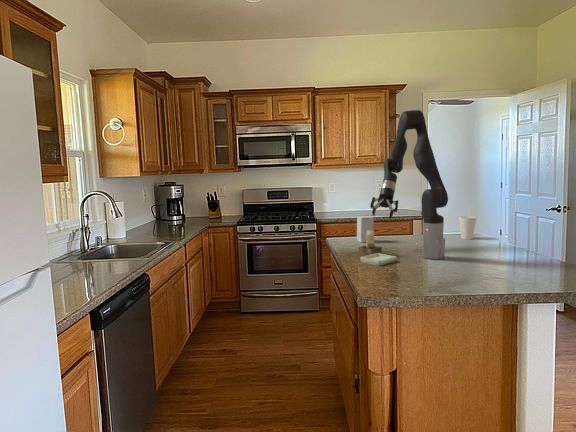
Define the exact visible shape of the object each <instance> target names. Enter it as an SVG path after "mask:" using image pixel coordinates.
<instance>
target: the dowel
mask: <svg viewBox="0 0 576 432" xmlns="http://www.w3.org/2000/svg"><path fill="white" fill-rule="evenodd" d="M365 246H366V248H367V249H374V246H375V230H374V229H373V230H367V231H366V242H365Z"/></svg>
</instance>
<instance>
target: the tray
mask: <svg viewBox="0 0 576 432" xmlns="http://www.w3.org/2000/svg"><path fill="white" fill-rule="evenodd" d="M397 260H398V258H397V256H395V255H392V254H391V255H390V254H385V253H382V254H380V253H376V254H371V255H363V256H360V259H359V261H360V263H365V264H368V265H369V264H370V265H373V266H374V265H375V266H380V267H381V266H383V265H384V266H385V265H388V264H391V263H394V262H397Z"/></svg>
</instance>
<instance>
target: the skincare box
mask: <svg viewBox="0 0 576 432" xmlns="http://www.w3.org/2000/svg"><path fill="white" fill-rule="evenodd" d="M374 217H375V216H374ZM374 217H373V216H357V217H356V218H357V219H356V241H357V242H359V243H366V231H367V230H374Z"/></svg>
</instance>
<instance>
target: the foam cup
mask: <svg viewBox="0 0 576 432" xmlns="http://www.w3.org/2000/svg"><path fill="white" fill-rule="evenodd" d="M458 221H459V229H460V230H459V231H460V238H461V240H462V239H463V240H473V238H474V233H475V226H476V222H477V217H476V216H470V215H464V216H463V215H460V216H459V217H458Z"/></svg>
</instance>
